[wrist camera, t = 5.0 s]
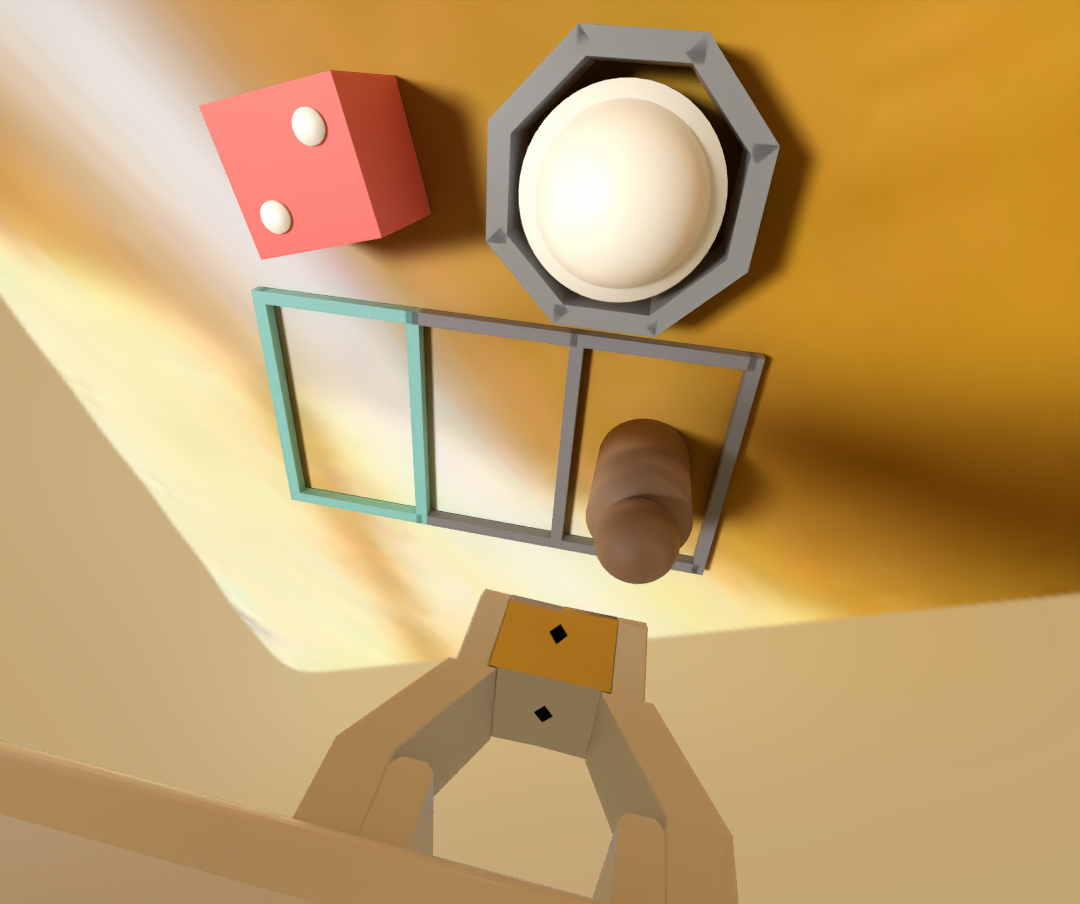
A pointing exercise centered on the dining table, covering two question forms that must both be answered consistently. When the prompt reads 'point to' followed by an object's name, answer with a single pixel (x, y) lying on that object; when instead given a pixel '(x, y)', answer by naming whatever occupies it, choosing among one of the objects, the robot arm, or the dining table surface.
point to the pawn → (640, 500)
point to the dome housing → (545, 90)
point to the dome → (623, 190)
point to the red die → (320, 161)
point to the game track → (577, 343)
